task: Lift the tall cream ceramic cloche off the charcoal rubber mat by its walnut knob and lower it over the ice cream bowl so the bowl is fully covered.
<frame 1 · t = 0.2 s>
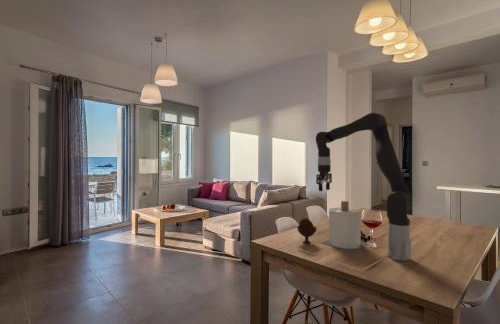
hand: (324, 190, 169), 29 cm above the table, fingers open, 8 cm apart
cloche: (344, 243, 156), point 1 cm above the table, touching mat
mat: (344, 244, 156), on the table
ice cream bowl: (306, 243, 158), on the table
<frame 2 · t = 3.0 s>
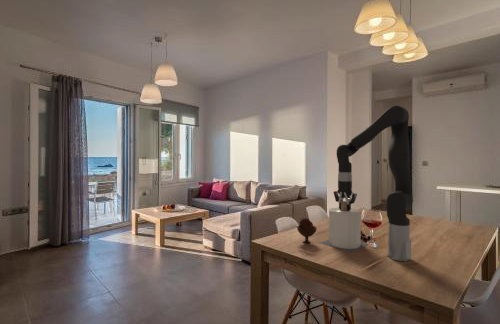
hand: (344, 210, 155), 20 cm above the table, fingers closed on cloche, 4 cm apart
cloche: (344, 243, 156), point 1 cm above the table, touching gripper, mat
everything else where it was.
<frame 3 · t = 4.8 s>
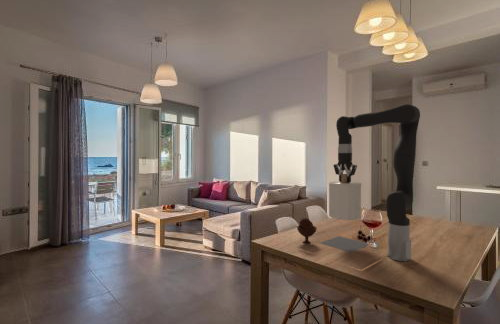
hand: (344, 182, 155), 36 cm above the table, fingers closed on cloche, 4 cm apart
cloche: (344, 216, 155), point 16 cm above the table, touching gripper
everything else where it was.
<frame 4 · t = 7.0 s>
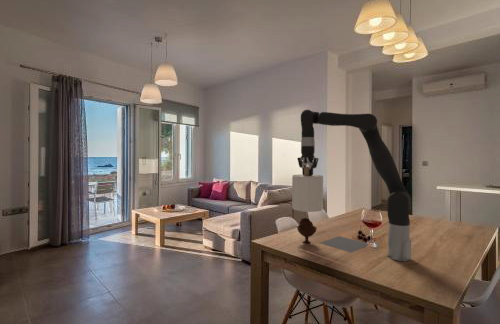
hand: (307, 175, 157), 40 cm above the table, fingers closed on cloche, 4 cm apart
cloche: (307, 208, 158), point 20 cm above the table, touching gripper
everything else where it was.
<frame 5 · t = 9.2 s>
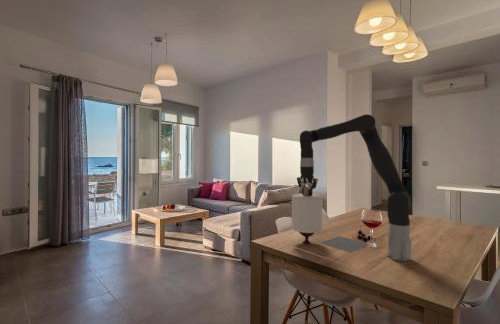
hand: (307, 195, 157), 28 cm above the table, fingers closed on cloche, 4 cm apart
cloche: (307, 228, 158), point 9 cm above the table, touching gripper
everything else where it was.
when the fingers open (21 cm above the table, at t = 11.0 s): cloche drops 1 cm, resting on mat.
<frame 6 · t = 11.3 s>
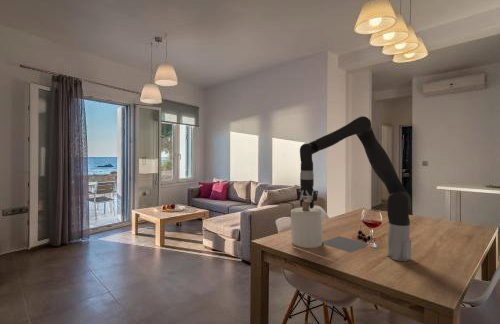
hand: (306, 207, 157), 21 cm above the table, fingers open, 6 cm apart
cloche: (307, 243, 158), resting on mat
everything else where it was.
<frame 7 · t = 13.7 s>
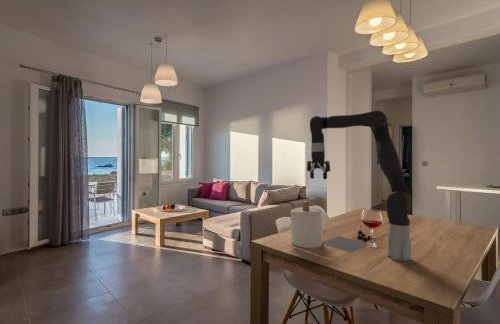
hand: (318, 178, 159), 37 cm above the table, fingers open, 8 cm apart
nothing on the table moved.
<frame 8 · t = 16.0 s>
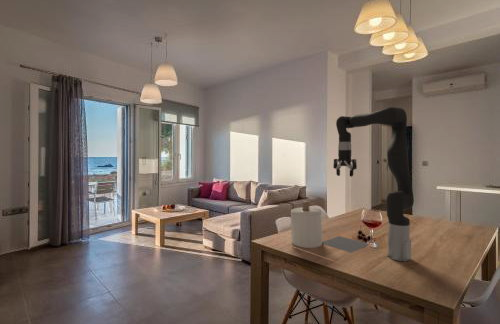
hand: (344, 176, 167), 38 cm above the table, fingers open, 8 cm apart
nothing on the table moved.
at the end: cloche 0.2 cm off-centre in the ice cream bowl, point 0.5 cm above the ice cream bowl's base; cloche tilted 2°; ice cream bowl tilted 0° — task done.
